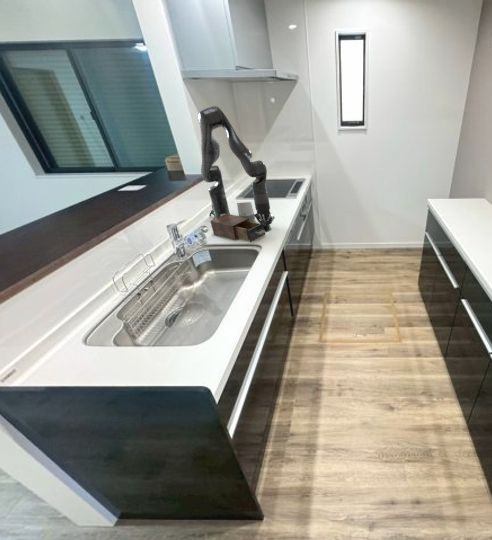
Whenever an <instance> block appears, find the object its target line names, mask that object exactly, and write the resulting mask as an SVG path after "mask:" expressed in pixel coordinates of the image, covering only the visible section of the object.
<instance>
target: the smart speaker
mask: <svg viewBox="0 0 492 540" xmlns="http://www.w3.org/2000/svg"><path fill="white" fill-rule="evenodd" d="M236 207H237V214H238V216H240V217H245V218H249V221H250V222H255V220H256V217H255V216H254V214H255V211H254V207H253V204H252V201H246V202H236Z"/></svg>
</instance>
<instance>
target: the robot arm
mask: <svg viewBox="0 0 492 540" xmlns="http://www.w3.org/2000/svg"><path fill="white" fill-rule="evenodd" d="M198 123H199V129H200V139H201V141H200V142H201V144H200V145H201V147H200V148H201V165H200V166H201V167H200V173H201V179H202V180H203V182H205V183H207V184H208V183H214V184H213V185H212V186H210V187H209V188H208V194H209V198H210V201H211V210H210V212H209V215H208V216H209V217H212V215H213V217H214V219H216V218H218V217H221V216H223V215H226V214H231V213H230V207H229V204H228V199H227V195H226V191H225V186H224V181H223V175H222V170H221V168H220V167H219V166H218V165H215V163H216V162H217V161H218V160H219V158H220V155H221V146H220V143H219V141H218V140H217V139H216V138H215V137H214V136H213V131H214V130H216V129H219V128H222V129H223V130H224V131H225V133H226V135H227V140H228V145H229V148H230V150H231V152H232V153H233V154H234V155H235V157H236V158H237V159H238V161H239V162H240V164H241V166H242V168H243V170H244V172H245V174H246V175H248V176H249V177H250V178H255V179H254V180H253V181H252V182H251V189H252V193H253V201H254V208H255V211H256V213H254V216H255V220H257V222H258V223H259V224H262V225H263V228H264V230H265V233H267V232H269V231H270V230H269V224H270V225H271V224H272V223H273V221H274V219H275V215H272V214H271V205H270V204H271V203H270V198H269V194H268V189H267V175H268V173H267V172H268V171H267V165H266V163H264V161H263V160H260V159H259V160H255V161H252V157H253V153H252V151H251V150H250V149H249V148H248V147H247V146H246V144H245V143H244V142H243V140H242V139H241V137H240V136H239V135H238V134H237V131H236V130H235V128H234V127H233V125H232V123H231V122H230V120H229V119H228V117H227V116H226V114H225V112H224V111H223V110H222V109H221V108H220V107H219V106H218V105H213V106H210V107H205V108H203V109H200V111H199V112H198Z"/></svg>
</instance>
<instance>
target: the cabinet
mask: <svg viewBox="0 0 492 540" xmlns="http://www.w3.org/2000/svg"><path fill="white" fill-rule="evenodd" d="M245 221H249V218H245V217H240V216H239V215H235V214H232V213H230V214H226V215H223V216H221V217H218V218H216V219H215V218H214V219H211V220H210V224H211V229H212V232H213V235H214V236H217V237H218V236H219V237H221V238H225V239H229V240H234V241H237V240H239V239H240V238H237V237H236V234H235V230H234V226H237V225H239V224H241V223H243V222H245Z"/></svg>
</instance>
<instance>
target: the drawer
mask: <svg viewBox="0 0 492 540" xmlns="http://www.w3.org/2000/svg"><path fill="white" fill-rule="evenodd" d="M234 230H235V234H236V237H237V238H239V239H242V240H246V241H249V242H250V243H252V242H255V241H256V240H258V239H259V238H262V237H264V236H265V235H266V232H265V230H264V228H263V225H262V224H260V223H259V222H255V221H254V222H250V221H245V222H243V223H241V224H239V225H237V226H234Z"/></svg>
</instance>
